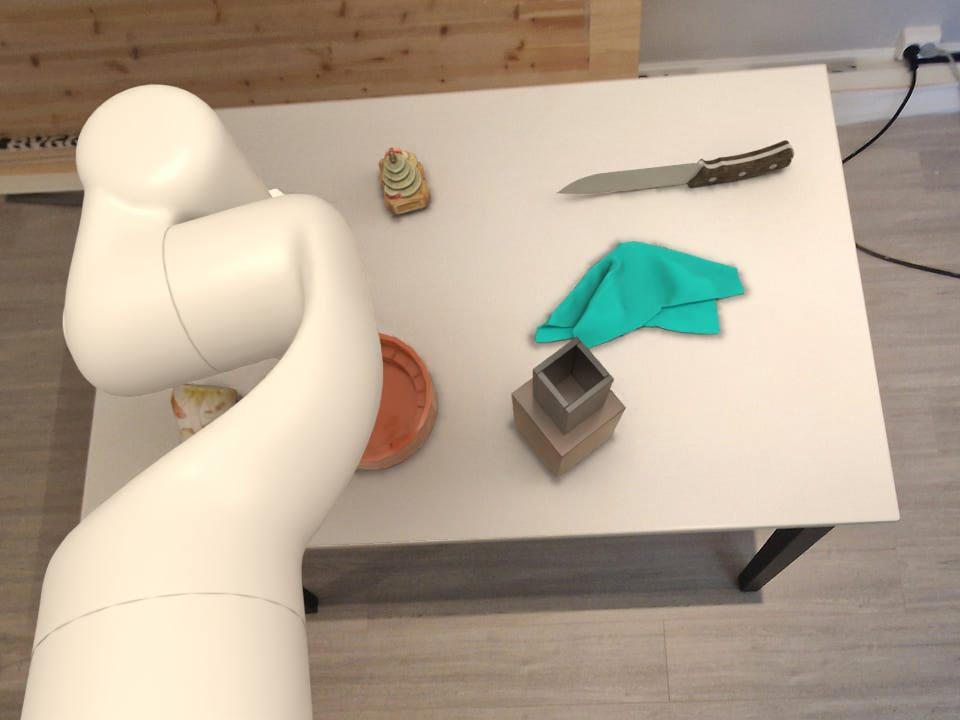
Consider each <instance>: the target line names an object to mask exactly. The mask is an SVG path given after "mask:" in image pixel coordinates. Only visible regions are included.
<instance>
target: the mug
mask: <svg viewBox="0 0 960 720" xmlns="http://www.w3.org/2000/svg"><path fill="white" fill-rule="evenodd" d="M236 403H237V389H236V388H232V387H226V386H218V385H217V386H216V385H209V384H199V383H198V384H197V383H196V384H194V383H187V384H183V385H180V386H177V387H173V388H172V389H171V395H170V404H171V410H172V413H173V417H174V419H175V423H176V427H177V430H178V433H179V445H180V444H181V443H183V442H184V441H186V440H187V439H189V438H190V437H191V436H193V435H194V434H196V433H197V432H198V431H200V430H201V429H203V428H204V427H206V426H207V425H208V424H210V423H211V422H213V421H214V420H215V419H217V418H218V417H220V416H221V415H223V414H224V413H225V412H226V411H228V410H229V409H230V408H231V407H233V406H234V405H235V404H236Z"/></svg>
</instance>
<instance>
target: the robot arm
mask: <svg viewBox="0 0 960 720" xmlns="http://www.w3.org/2000/svg"><path fill="white" fill-rule="evenodd" d="M75 165H76V170H77V175H78V178H79V180H80V182H81V185H82V187H83V190H84V191H83V192H84V193H83V194H84V195H83V200H82V207H81V212H80V213H81V215H80V221H79V225H78V229H77V234H76V239H75V244H74V249H73V252H72V258H71V263H70V266H69V271H68V277H67V282H66V289H65V299H64V307H63V312H62V331H63V336H64V340H65V344H66V346H67V348H68V350H69V353H70V354H71V357H72V360H73V361H74V363H75V365H76V367H77V369H78V371H79V372H80V373H81V374H82V376H83V377H84V378H85V380H86V381H87V382H89V384H91V385H92V386H93V387H95V388H96V389H97V390H99V391H102V392H103V393H106V394H108V395H111V396H115V397H123V398H124V397H125V398H127V397H128V398H130V397H141V396H146V395H151V394H155V393H158V392H162V391H166V390H170V389H173V387H177V386H180V385H183V384H191V383H193V382H196V381H199V380H203V379H206V378H209V377H213V376H217V375H219V374H222V373H228V372H231V371H235V370H237V369H241V368H243V367H247V366H249V365H250V366H251V365H254V364H257V363H261V362H264V361H267V360H270V359H274V358H276V359H277V360H278V362H277V363H276V364H275V365H274V367H273V368H272V369H271V370H270V371H269V372H268V374H267V375H266V376H265V377H264V378H263V379H262V380H261V381H259V383H257V384H256V385H255V386H254V388H252V389H251V390H250V391H249V392H248V393H247V394H246V395H244V396H243V397H242V398H241V399H240V400H239V401H238V402H236V403H235V405H234V406H233V407H231V408H230V409H229V410H228V411H226V412H225V413H224V414H223V415H221V416H220V417H218V418H217V419H215V420H214V421H213V422H211V423H210V424H208V425H207V426H206V427H204V428H203V429H201V430H200V431H198V432H197V433H196V434H194V435H193V436H191V437H190V438H189V439H187V440H186V441H184V442H183V443H181V444H180V443H179V445H177V446H176V447H174V448H173V449H172V450H170V451H169V452H167V453H166V454H164V455H163V456H162V457H160V458H159V459H157V460H156V461H155V462H154V463H152V464H151V465H150V466H148V467H147V468H146V469H144V470H143V471H141V472H139V473H138V474H137V475H136V476H135V477H133V478H132V479H131V480H129V481H128V482H127V483H125V484H124V485H123V486H122V487H120V488H119V489H118V490H117V491H116V492H115V493H113V494H112V495H111V496H109V497H108V498H107V499H106V500H105V501H103V502H102V503H101V504H100V505H98V506H97V507H96V508H94V509H93V510H92V511H90V513H88V514H87V515H86V516H85V517H84V518H83V520H82V521H80V523H78V524H77V525H76V526H75V527H74V528H73V529H72V530H71V531H70V532H69V533H68V534H67V535H66V536H65V537H64V539H63V540H62V541H61V543H60V544H59V546H58V547H57V549H56V550H55V552H54V553H53V555H52V557H51V558H50V560H49V562H48V565H47V568H46V571H45V573H44V577H43V580H42V581H43V582H42V588H41V592H40V593H41V594H40V600H39V607H38V613H37V619H36V626H35V633H34V637H33V638H34V639H33V644H32V649H31V655H30V665H29V670H28V674H27V675H28V676H27V681H26V687H25V693H24V698H23V704H22V709H21V714H20V720H314V717H313V703H312V700H313V699H312V687H311V675H310V674H311V673H310V662H309V649H308V636H307V635H308V634H307V623H306V621H307V620H306V612H305V600H304V589H303V582H302V581H303V575H302V573H303V571H302V567H303V566H302V565H303V558H304V554H305V551H306V549H307V547H308V546H309V544H310V543H311V541H312V539H313V538H314V537H315V535H316V534H317V532H318V531H319V529H320V528H321V527H322V525H323V524H324V522H325V521H326V520H327V518H328V517H329V515H330V514H331V513H332V512H333V509H334V508H335V507H336V506H337V503H338V502H339V500H340V499H341V497H342V495H343V494H344V492H345V490H346V489H347V487H348V486H349V484H350V482H351V480H352V478H353V477H354V475H355V473H356V470H357V466H358V464H359V462H360V460H361V458H362V455H363V453H364V451H365V448H366V446H367V444H368V441H369V439H370V436H371V433H372V430H373V428H374V424H375V421H376V418H377V414H378V410H379V406H380V401H381V395H382V387H383V361H382V352H381V345H380V339H379V334H378V333H379V329H378V324H377V319H376V313H375V308H374V303H373V299H372V298H373V296H372V292H371V286H370V282H369V277H368V272H367V269H366V264H365V261H364V257H363V255H362V251H361V248H360V246H359V242H358V240H357V238H356V236H355V234H354V231H353V230H352V228H351V226H350V224H349V223H348V221H347V220H346V218H345V217H344V216H343V214H342V213H341V212H340V211H339V210H338V209H337V208H336V207H335V206H334V205H332V204H331V203H330V202H329V201H327V200H326V199H323V198H321V197H319V196H316V195H313V194H308V193H287V194H285V195H281V196H277V197H272V195H271V194H270V192H269V191H268V190H269V189H268V187H266V184H265V183H264V182H263V180H262V179H261V177H260V176H259V174H258V173H257V172H256V170H255V168H254V167H253V166H252V164H251V162H250V161H249V160H248V158H247V156H246V155H245V154H244V152H243V151H242V149H241V148H240V146H239V144H238V143H237V142H236V140H235V138H234V137H233V136H232V133H230V131H229V129H228V128H227V126H226V125H225V124H224V122H223V120H222V119H221V118H220V116H218V114H217V113H216V111H214V110H213V108H212V107H211V106H210V105H209V104H208V103H207V102H205V101H204V100H202V99H201V98H200V97H198V96H197V95H195V94H194V93H192V92H189V90H187V89H183V88H181V87H177V86H174V85H173V86H172V85H168V84H151V83H150V84H145V85H144V84H143V85H137V86H134V87H131V88H128V89H125V90H122V91H121V92H119V93H116V94H114V95H113V96H111V97H109V98H108V99H107V100H105V101H104V102H103V103H102V104H100V105H99V106H98V107H96V109H95V110H94V111H93V112H92V113H91V115H90V116H89V117H88V118H87V120H86V122H85V123H84V125H83V126H82V128H81V130H80V133H79V135H78V139H77V142H76V147H75Z"/></svg>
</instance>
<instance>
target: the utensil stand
mask: <svg viewBox="0 0 960 720" xmlns="http://www.w3.org/2000/svg"><path fill="white" fill-rule="evenodd" d="M614 380H615V378H614V377H613V376H612V374H611V373H609V371H608V370H607V369H606V367H604V365H603V364H602V363H601V362H600V360H599V359H598V358H597V357H596V356H595V355H594V354H593V353H592V352H591V350H590V348H587V347H586V346H585V345H584V343H583V342H581V340H580V339H579V338H578V337H575V338H572V339H571V340H570V341H568V342H567V343H566V344H564V345H563V346H562V347H561V348H559V349H558V350H556V351H555V352H554V353H553V354H551V355H550V356H549V357H547V358H546V359H545V360H543V361H542V362H540V363H539V364H538V365H536V366H534V368H532V378H530V379H529V380H528V381H526V382H524V384H522V385H520V386H519V387H518V388H517V389H515V390H514V391H513V392H512V393H511V395H510V396H511V404H512V412H513V422H514V426H515V428H517V430H518V432H519V433H520V434H521V435H522V436H523V437H524V439H525V440H526V442H527V443H528V444H529V445H530V446H531V448H532V449H533V450H534V452H535V453H536V454H537V456H539V458H540V459H541V461H542V462H543V463H544V464H545V465H546V467H547V468H548V470H550V472H551V473H552V474H553V475H554V477H555V478H556V479H559V478H560V477H561V476H563V475H565V473H567V472H568V471H569V470H571V469H572V468H573V467H574V466H576V465H577V464H579V463H580V462H581V461H582V460H583V459H585V458H586V457H587V456H589V455H590V454H591V453H592V452H594V451H595V450H597V449H598V448H599V447H600V446H602V445H603V444H604V443H605V442H607V441H608V440H609V439H611V438H612V436H613V434H614V433H615V430H616V428H617V426H618V424H619V422H620V420H621V418H622V416H623V414H624V412H625V411H626V409H627V407H626V406H625V404H624V403H623V402H622V400H620V398H618V397H617V395H616V394H615V392H613V391H612V390H611V388H612V385H613V384H614Z"/></svg>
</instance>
